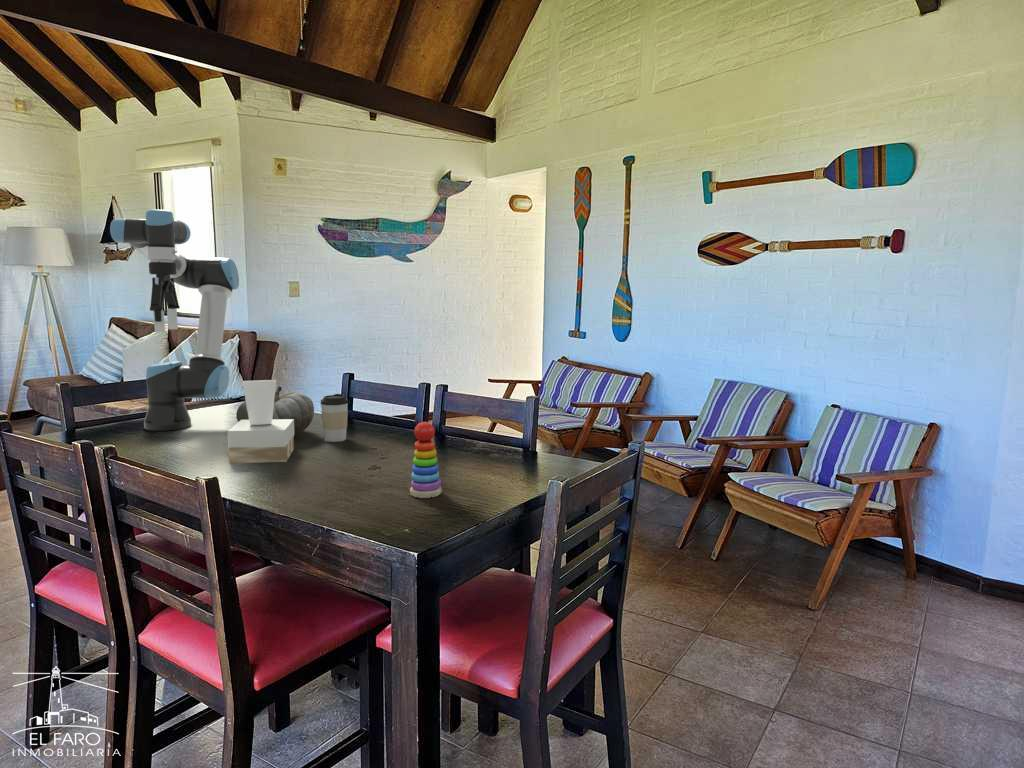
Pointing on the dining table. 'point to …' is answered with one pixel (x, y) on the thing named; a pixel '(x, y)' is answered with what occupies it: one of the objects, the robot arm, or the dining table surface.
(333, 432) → the coffee cup
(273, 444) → the white square block
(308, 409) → the gourd
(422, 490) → the stacking toy
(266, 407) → the foam cup
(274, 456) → the birch base block
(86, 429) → the dining table surface
